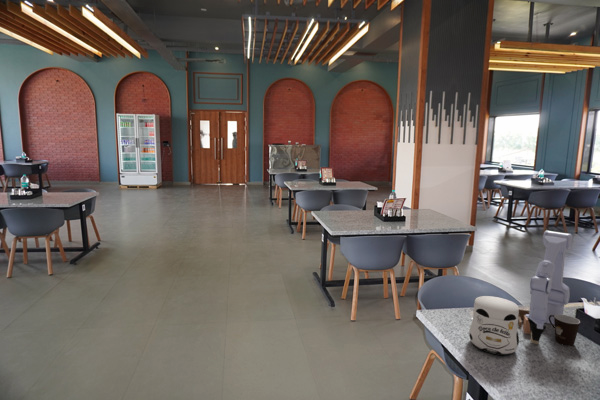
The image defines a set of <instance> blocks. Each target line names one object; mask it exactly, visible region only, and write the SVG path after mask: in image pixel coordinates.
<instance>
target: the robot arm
mask: <svg viewBox="0 0 600 400" xmlns="http://www.w3.org/2000/svg"><path fill="white" fill-rule="evenodd" d="M542 244H543V246H544V247H545V251H544V257H543V260H542V261H540V262H538V264H537V265H538V266H537V268H536V271H535V273H534V276H531V278H530V283H529V293H530V301H529V302H530V303H529V310H528V311H529V314H526V315H525V316H526V317H527V319H528V321H529V324H530V332H532V339H533V340H534V341H539V342H540V339H541V337H542V335H543V333H544V331H545V330H546V329H547V326H546V325H544V324H549V325H551V323H550V321H549V316H550V315H554V316H555V315H558V314H561V315H564V310H565V305H566V306H567V305H568V304H569V301H570V295H571V294H570V287H569V286H568V285H566V284H565V283H564V282H563V281H564V280H563V279H564V270H565V269H564V267H565V258H566V251H567V250H571V249H572V247H573V235H572V234H571V233H568V232H567V233H566V232H559V231H552V230H548V229H546V230H545V231H544V232H543V234H542ZM550 320H551V322H552V324H553V325H554V326H555V323H554V317H553V316H552V317H551V318H550Z"/></svg>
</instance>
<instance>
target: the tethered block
mask: <svg viewBox="0 0 600 400" xmlns="http://www.w3.org/2000/svg"><path fill="white" fill-rule="evenodd" d="M522 329H523V332H524V334H527V335H530V340H529V341H530V343H531V344H533V345H539V344H540V343H539V342H540V340H539V341H534V340H533V339H532V332H530V324H529V321H528V319H527V317H526V316H525V315H524V321H523V322H522Z"/></svg>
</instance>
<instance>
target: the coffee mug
mask: <svg viewBox="0 0 600 400" xmlns="http://www.w3.org/2000/svg"><path fill="white" fill-rule="evenodd" d="M552 316H553V317H554V323H555V325H554V324H552V322H551V320H550V318H551V317H552ZM549 321H550V323H551V324H550V326H552V328H553V329H554V341H555V342H556V343H557V344H559V345H561V346H565V347H573V346H574V345H575V342H576V339H577V335H578V331H579V327H580V324H581V321H580V319H578V318H576V317H574V316H571V315H568V314H563V315H561V314H558V315H555V316H554V315H550V316H549Z"/></svg>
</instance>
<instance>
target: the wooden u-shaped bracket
mask: <svg viewBox="0 0 600 400" xmlns="http://www.w3.org/2000/svg"><path fill="white" fill-rule="evenodd" d="M526 314H529V310H527V309H520V308H519V315H518V325H517V326H518V328H522V329H523V322H524V315H526Z"/></svg>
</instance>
